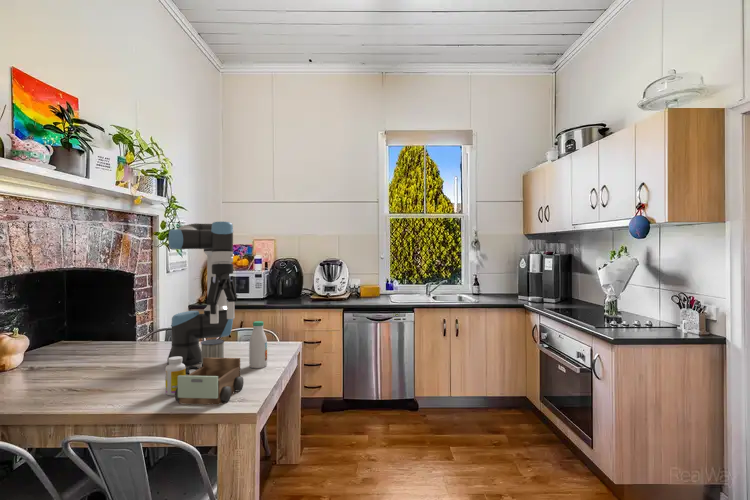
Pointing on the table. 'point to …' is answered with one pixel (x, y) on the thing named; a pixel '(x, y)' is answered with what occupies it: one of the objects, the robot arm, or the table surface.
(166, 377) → the supplement bottle
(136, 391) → the table surface
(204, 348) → the milk frother
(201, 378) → the panel
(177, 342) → the robot arm
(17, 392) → the table surface
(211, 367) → the tray
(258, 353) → the milk bottle
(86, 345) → the table surface
